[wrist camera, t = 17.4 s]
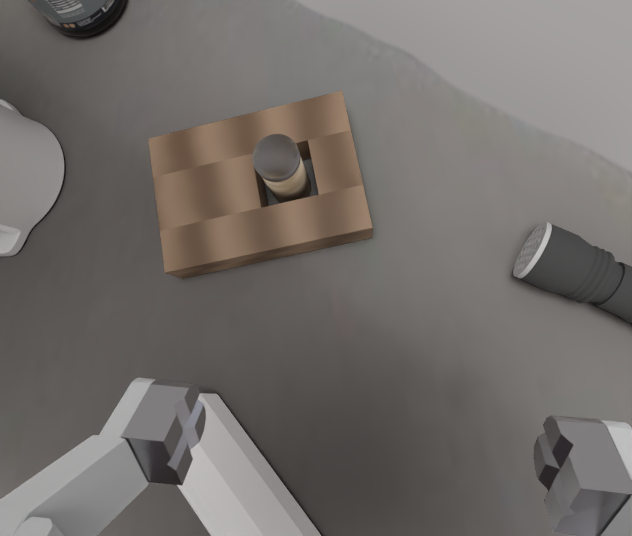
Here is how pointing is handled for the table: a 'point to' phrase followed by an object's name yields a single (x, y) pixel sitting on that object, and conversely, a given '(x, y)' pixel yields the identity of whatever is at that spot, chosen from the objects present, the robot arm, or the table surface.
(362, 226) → the socket block
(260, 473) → the white faceted prism
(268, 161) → the beech pin
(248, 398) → the table surface
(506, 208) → the table surface
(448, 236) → the table surface
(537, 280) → the flashlight
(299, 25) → the table surface
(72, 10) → the supplement container
